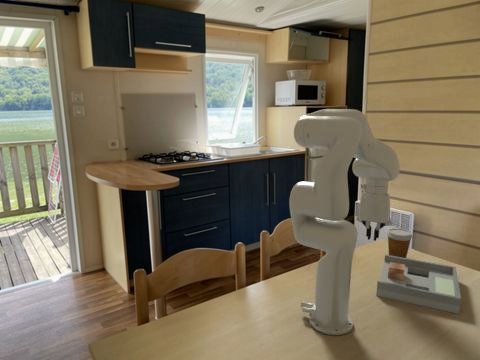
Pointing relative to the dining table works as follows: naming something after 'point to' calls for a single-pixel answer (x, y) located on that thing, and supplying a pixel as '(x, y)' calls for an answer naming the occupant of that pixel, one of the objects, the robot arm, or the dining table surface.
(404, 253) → the disposable coffee cup
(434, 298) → the box
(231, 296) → the dining table surface
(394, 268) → the block
